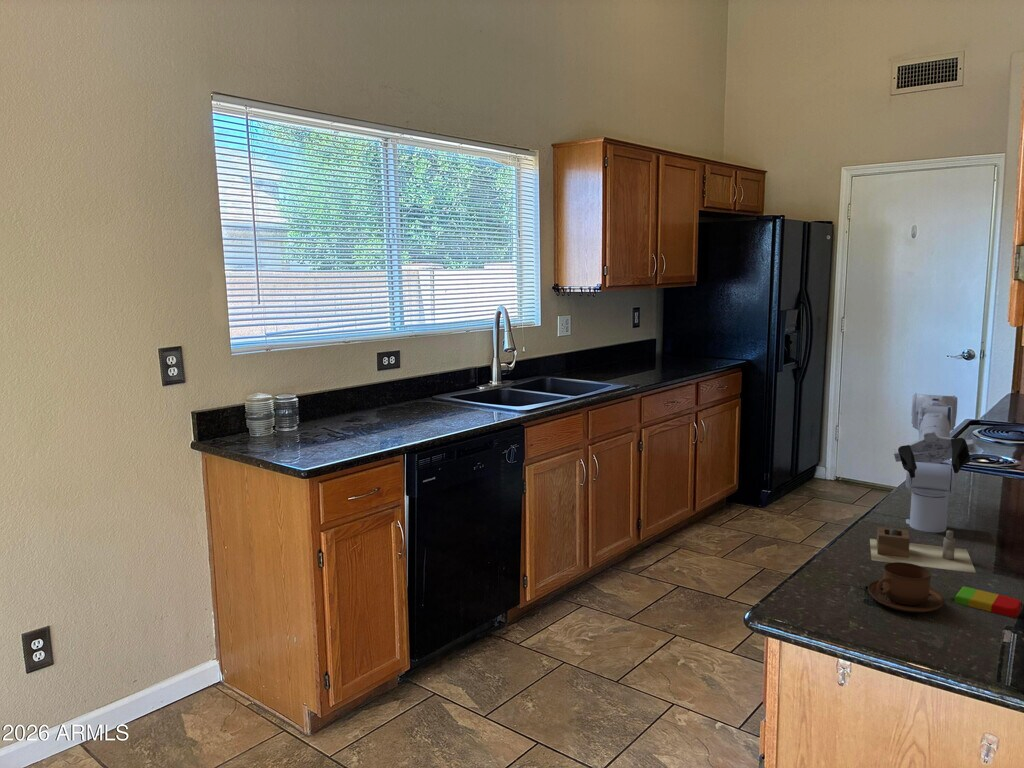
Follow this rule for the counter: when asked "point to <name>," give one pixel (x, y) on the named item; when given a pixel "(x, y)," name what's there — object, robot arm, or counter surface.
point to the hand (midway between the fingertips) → (932, 471)
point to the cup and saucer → (906, 588)
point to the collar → (893, 542)
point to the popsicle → (988, 601)
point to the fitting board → (930, 555)
